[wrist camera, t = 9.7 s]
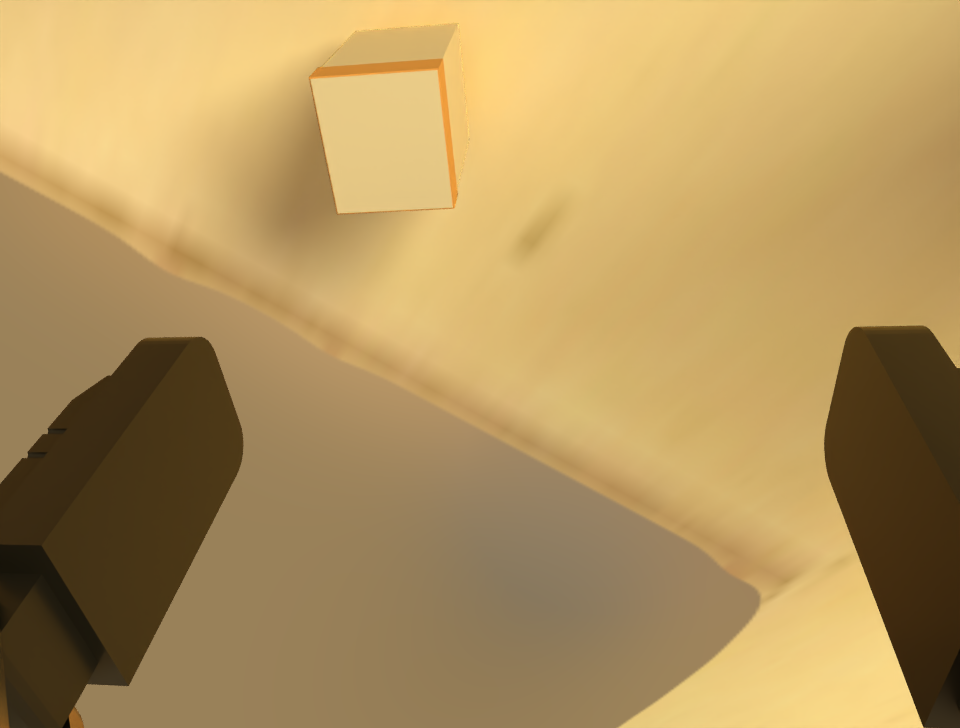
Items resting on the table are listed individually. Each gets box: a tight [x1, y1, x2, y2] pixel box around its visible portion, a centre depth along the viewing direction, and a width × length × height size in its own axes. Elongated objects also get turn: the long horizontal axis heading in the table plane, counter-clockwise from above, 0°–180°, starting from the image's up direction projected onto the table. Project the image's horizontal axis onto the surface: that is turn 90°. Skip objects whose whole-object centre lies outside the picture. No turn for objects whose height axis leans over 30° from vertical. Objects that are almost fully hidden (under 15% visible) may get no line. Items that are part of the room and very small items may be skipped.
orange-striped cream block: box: [309, 23, 469, 214], centre depth 28 cm, size 4×5×7 cm
